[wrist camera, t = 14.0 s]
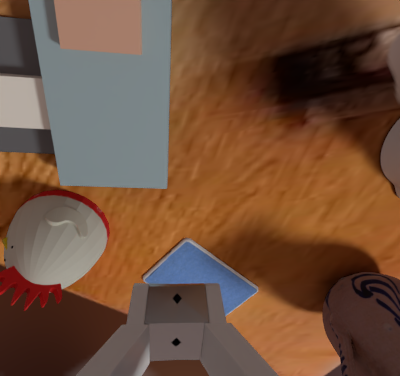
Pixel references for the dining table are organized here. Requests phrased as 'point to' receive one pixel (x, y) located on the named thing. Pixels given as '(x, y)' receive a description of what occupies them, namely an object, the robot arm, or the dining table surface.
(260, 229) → the dining table surface
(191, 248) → the tablet computer
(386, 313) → the ceramic pitcher
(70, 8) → the terracotta card
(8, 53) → the mat
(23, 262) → the kitchen timer
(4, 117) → the cream card
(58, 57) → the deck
